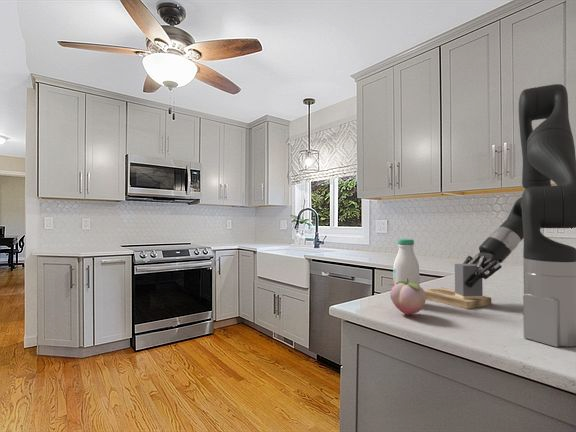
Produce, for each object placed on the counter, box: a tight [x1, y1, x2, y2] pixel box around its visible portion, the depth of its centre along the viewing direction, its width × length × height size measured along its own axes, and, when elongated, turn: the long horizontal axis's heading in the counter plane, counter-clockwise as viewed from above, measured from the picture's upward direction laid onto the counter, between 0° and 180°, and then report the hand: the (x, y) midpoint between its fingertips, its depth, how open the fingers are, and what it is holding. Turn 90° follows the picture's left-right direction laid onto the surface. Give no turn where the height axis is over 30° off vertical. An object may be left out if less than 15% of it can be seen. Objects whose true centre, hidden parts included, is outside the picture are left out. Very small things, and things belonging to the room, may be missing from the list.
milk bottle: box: [392, 238, 421, 288], centre depth 100 cm, size 8×8×20 cm
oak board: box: [423, 287, 492, 310], centre depth 104 cm, size 12×17×2 cm
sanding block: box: [454, 263, 484, 299], centre depth 100 cm, size 6×4×10 cm
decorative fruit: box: [389, 278, 427, 316], centre depth 88 cm, size 9×8×10 cm
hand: (462, 283), depth 100 cm, fingers closed on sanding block, 4 cm apart
